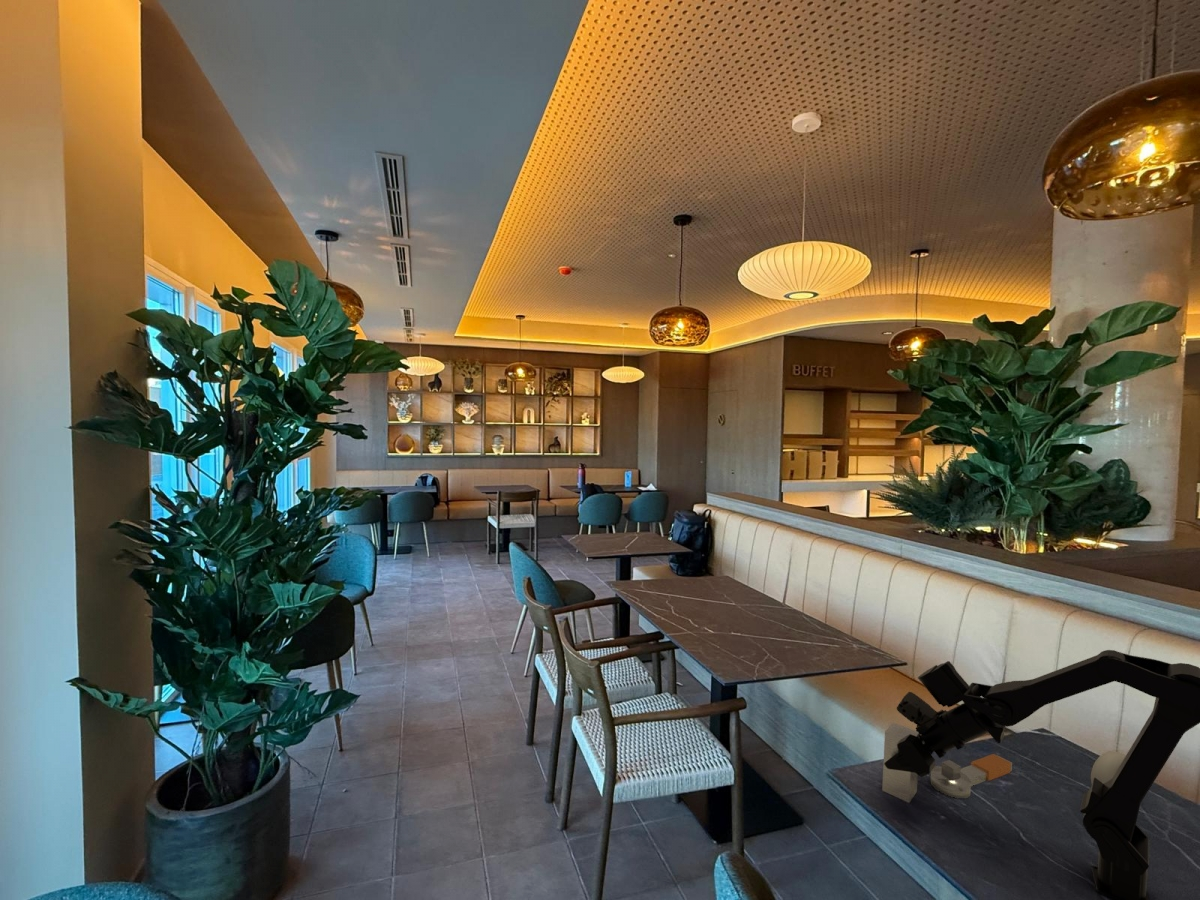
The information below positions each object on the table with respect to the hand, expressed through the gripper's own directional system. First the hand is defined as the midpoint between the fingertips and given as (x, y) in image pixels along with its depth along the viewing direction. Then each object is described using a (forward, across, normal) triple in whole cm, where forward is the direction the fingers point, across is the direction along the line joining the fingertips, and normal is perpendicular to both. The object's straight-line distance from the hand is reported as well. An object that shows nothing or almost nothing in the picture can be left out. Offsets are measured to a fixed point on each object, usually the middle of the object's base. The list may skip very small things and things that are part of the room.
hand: (893, 756), depth 113 cm
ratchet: (-3, -17, +12) cm, 21 cm away
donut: (-18, -30, +28) cm, 45 cm away
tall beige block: (+4, 0, +6) cm, 7 cm away
